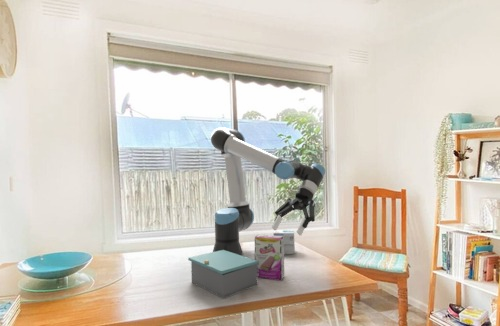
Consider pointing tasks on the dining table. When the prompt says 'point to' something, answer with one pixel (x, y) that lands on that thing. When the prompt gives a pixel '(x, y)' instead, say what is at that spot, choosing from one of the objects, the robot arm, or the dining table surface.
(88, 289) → the dining table surface
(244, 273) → the chest
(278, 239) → the candy bar box
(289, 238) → the light bulb box
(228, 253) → the lid
